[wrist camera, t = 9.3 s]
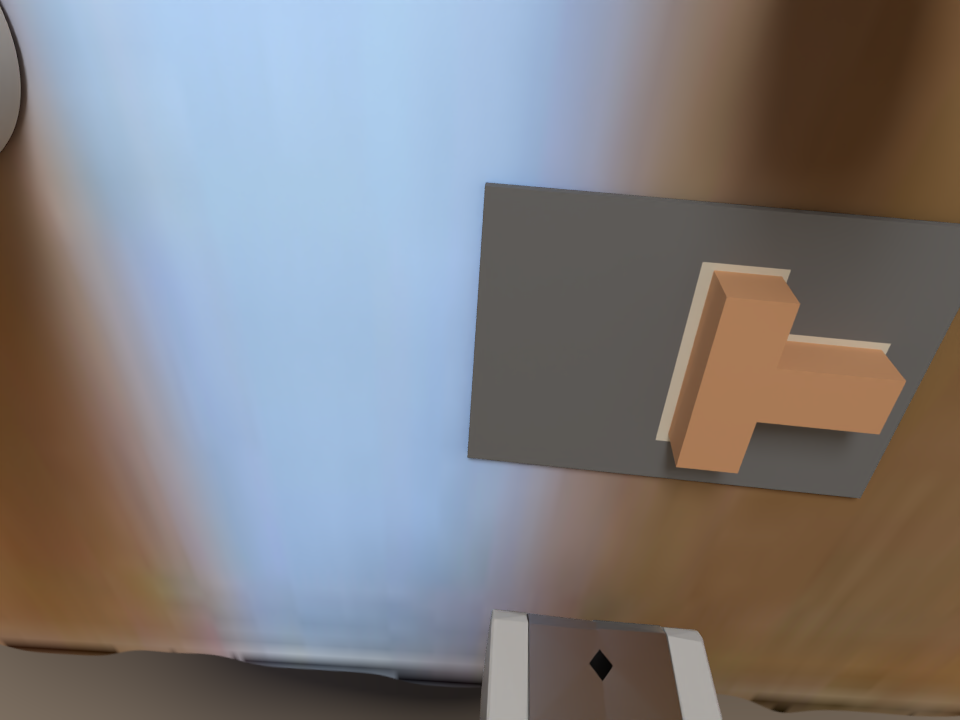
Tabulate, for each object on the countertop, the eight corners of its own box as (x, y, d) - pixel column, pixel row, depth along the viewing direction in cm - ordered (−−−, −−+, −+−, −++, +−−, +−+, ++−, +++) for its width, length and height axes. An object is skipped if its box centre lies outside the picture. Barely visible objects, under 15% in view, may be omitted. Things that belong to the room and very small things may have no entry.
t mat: (468, 452, 43) (467, 457, 43) (485, 182, 34) (485, 185, 33) (857, 492, 42) (860, 498, 42) (993, 226, 33) (999, 230, 32)
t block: (668, 433, 41) (676, 466, 38) (713, 270, 35) (726, 297, 32) (834, 450, 40) (853, 485, 38) (910, 288, 34) (938, 316, 32)
